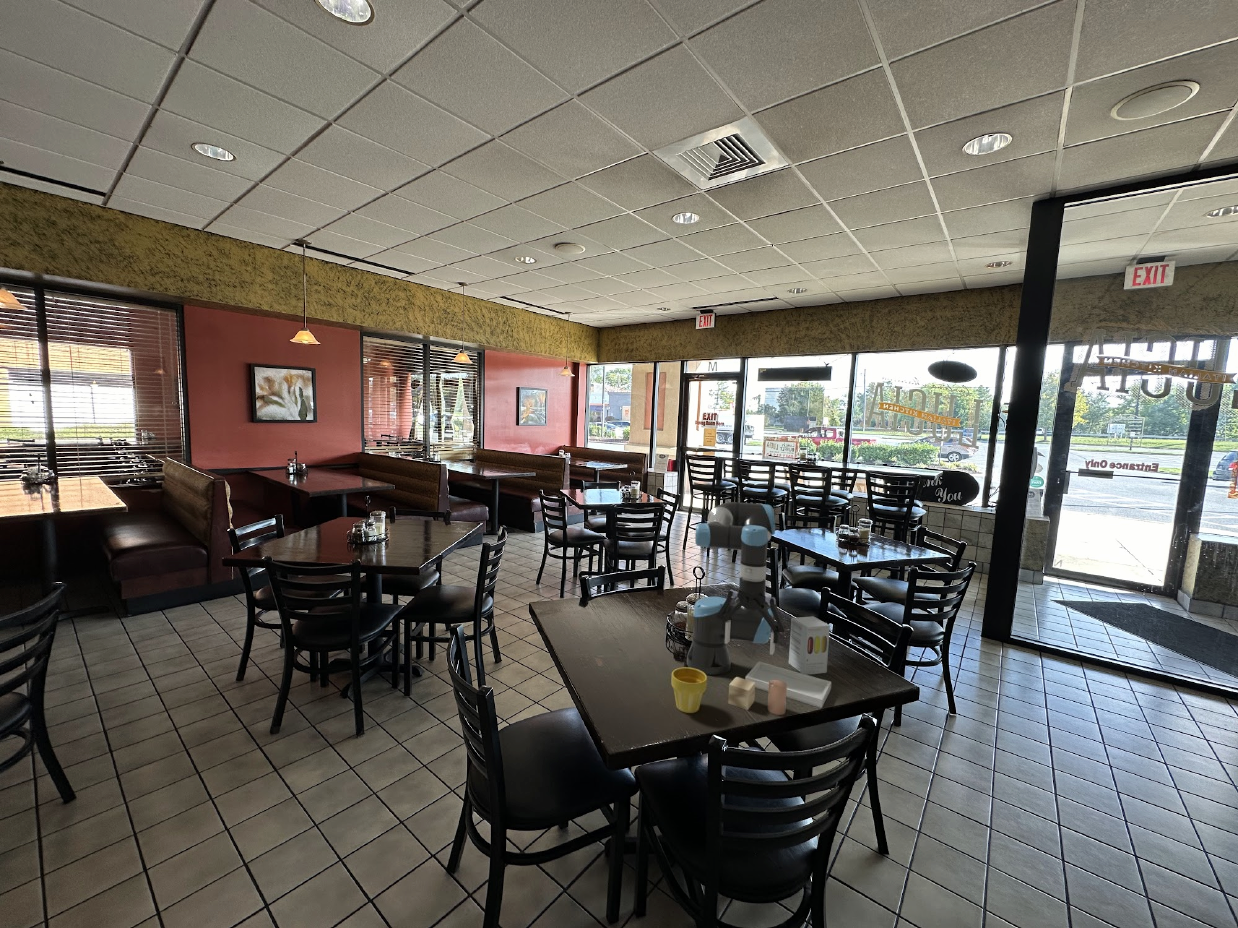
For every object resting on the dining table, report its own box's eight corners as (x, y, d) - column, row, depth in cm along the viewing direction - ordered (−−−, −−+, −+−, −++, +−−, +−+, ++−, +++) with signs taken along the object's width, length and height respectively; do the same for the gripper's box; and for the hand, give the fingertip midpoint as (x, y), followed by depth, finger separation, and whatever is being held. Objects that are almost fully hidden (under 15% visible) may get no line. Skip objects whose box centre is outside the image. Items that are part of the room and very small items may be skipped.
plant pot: (701, 697, 155) (703, 666, 154) (709, 716, 144) (710, 683, 144) (668, 697, 154) (669, 666, 154) (673, 716, 144) (674, 683, 143)
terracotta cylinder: (765, 711, 148) (766, 684, 148) (770, 703, 152) (771, 678, 152) (782, 716, 145) (784, 689, 145) (787, 709, 150) (788, 682, 149)
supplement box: (803, 675, 171) (806, 627, 170) (787, 663, 180) (790, 617, 179) (827, 672, 174) (830, 624, 172) (810, 660, 182) (813, 615, 181)
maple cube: (728, 703, 152) (729, 684, 151) (735, 695, 157) (736, 676, 156) (747, 710, 149) (748, 690, 148) (754, 701, 154) (755, 682, 153)
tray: (744, 684, 164) (745, 676, 163) (758, 668, 175) (758, 661, 175) (821, 708, 151) (822, 699, 150) (830, 689, 162) (831, 681, 162)
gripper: (708, 573, 153) (705, 641, 155) (793, 588, 141) (789, 662, 142) (716, 568, 160) (713, 633, 161) (798, 582, 147) (794, 652, 149)
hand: (749, 647), depth 152 cm, fingers open, 13 cm apart
